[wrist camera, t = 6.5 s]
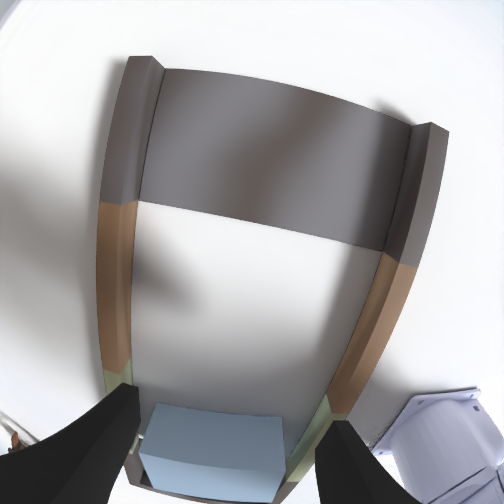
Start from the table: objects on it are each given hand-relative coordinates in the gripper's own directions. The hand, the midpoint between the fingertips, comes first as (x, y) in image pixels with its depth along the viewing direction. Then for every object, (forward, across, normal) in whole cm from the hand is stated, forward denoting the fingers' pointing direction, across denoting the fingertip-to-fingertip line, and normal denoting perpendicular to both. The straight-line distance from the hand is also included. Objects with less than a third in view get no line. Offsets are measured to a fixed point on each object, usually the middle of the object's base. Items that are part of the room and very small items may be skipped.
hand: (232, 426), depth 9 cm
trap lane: (+7, 0, +5) cm, 9 cm away
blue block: (+7, 0, +10) cm, 13 cm away
